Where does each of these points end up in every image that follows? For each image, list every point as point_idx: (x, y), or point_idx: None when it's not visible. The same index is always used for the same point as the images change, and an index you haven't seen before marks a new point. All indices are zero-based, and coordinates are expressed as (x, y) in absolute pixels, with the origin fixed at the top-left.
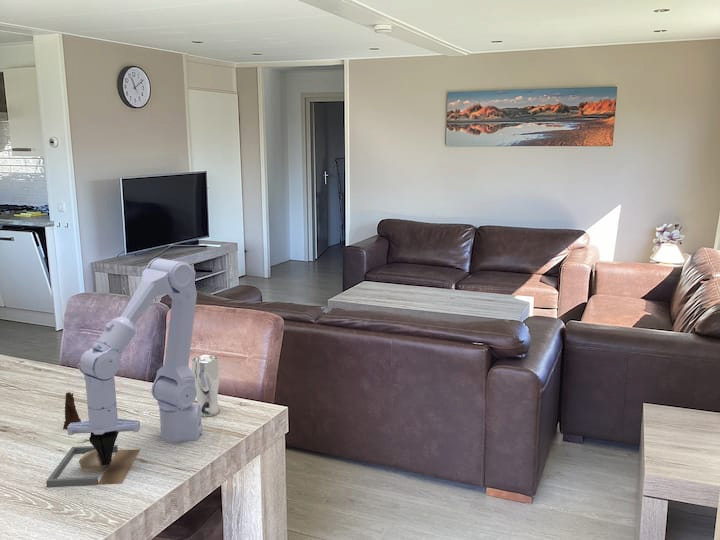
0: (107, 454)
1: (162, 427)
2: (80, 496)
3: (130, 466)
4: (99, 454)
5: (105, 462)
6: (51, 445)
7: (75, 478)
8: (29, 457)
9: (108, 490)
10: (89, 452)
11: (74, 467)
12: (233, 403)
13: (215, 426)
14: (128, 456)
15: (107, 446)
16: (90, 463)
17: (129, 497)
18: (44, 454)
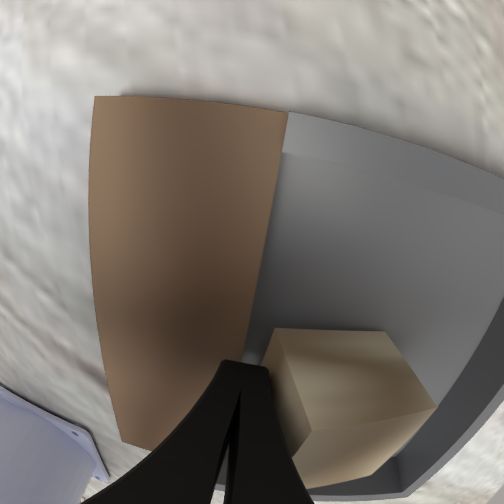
0: (198, 423)
1: (50, 485)
2: (398, 71)
3: (100, 321)
4: (277, 441)
5: (241, 376)
6: (435, 493)
7: (477, 189)
8: (500, 452)
9: (208, 95)
10: (354, 473)
11: None
12: None
13: None
14: (150, 416)
15: (156, 496)
16: (357, 385)
17: (79, 7)
18: (466, 466)
